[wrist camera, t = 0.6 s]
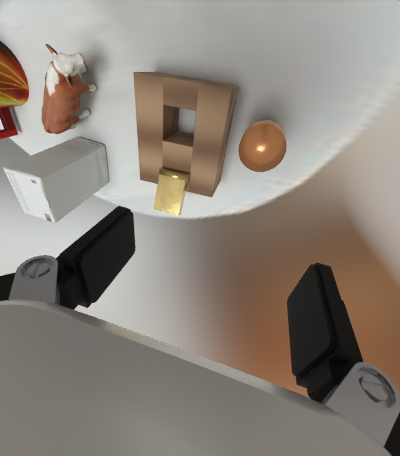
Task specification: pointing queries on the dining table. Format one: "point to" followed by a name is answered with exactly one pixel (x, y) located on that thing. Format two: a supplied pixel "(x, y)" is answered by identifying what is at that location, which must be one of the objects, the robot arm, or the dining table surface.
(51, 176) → the skincare box
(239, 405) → the robot arm
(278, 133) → the orange-brown domed cylinder
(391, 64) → the dining table surface
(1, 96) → the mug
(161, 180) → the plate
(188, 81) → the block
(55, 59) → the bull figurine
